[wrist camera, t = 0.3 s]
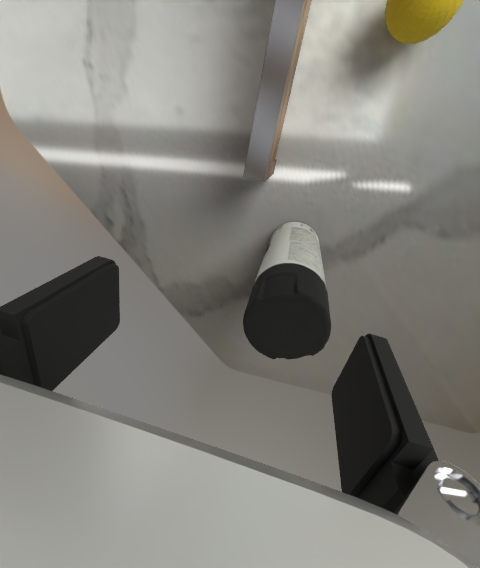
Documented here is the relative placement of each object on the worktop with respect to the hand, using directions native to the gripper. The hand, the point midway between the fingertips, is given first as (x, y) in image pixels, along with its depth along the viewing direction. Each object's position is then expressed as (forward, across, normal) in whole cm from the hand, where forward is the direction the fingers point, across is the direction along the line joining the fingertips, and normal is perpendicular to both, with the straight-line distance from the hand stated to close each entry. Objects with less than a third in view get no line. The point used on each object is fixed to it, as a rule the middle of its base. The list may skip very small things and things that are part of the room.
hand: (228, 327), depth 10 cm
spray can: (+29, -3, +5) cm, 29 cm away
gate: (+28, +3, -13) cm, 31 cm away
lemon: (+28, -7, -19) cm, 35 cm away
